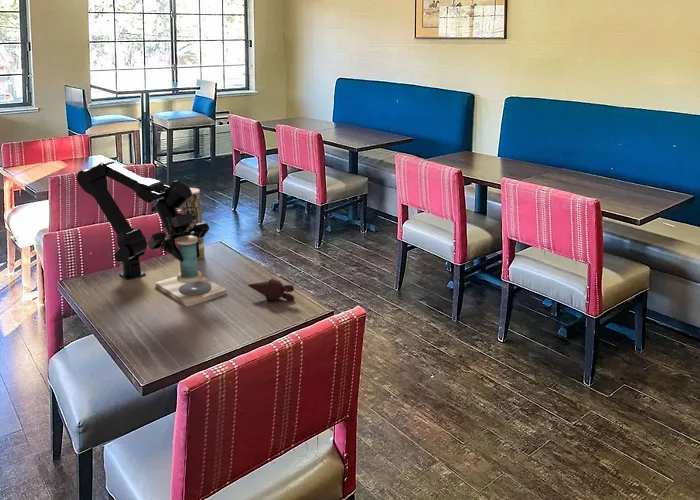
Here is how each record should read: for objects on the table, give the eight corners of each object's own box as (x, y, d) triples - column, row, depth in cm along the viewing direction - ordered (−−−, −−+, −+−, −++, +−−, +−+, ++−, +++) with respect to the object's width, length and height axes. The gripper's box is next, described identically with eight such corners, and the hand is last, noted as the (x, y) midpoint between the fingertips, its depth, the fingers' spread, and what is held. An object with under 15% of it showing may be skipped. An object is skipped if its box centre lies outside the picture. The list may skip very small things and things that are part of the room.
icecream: (243, 283, 197) (290, 292, 194) (252, 269, 202) (297, 277, 200) (244, 300, 201) (290, 310, 198) (253, 286, 207) (298, 295, 204)
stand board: (155, 286, 209) (154, 281, 208) (193, 275, 218) (193, 270, 217) (187, 306, 196) (187, 301, 195) (226, 293, 205) (226, 288, 204)
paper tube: (200, 261, 230) (194, 193, 221) (182, 260, 231) (176, 192, 222) (207, 254, 236) (202, 188, 227) (190, 253, 237) (184, 187, 228)
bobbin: (172, 277, 202) (169, 238, 197) (194, 271, 206) (191, 233, 202) (184, 285, 196) (181, 245, 192) (206, 278, 201) (204, 239, 196)
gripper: (148, 208, 190) (170, 254, 186) (204, 197, 202) (225, 239, 198) (139, 227, 198) (159, 271, 194) (193, 215, 210) (213, 256, 206)
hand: (190, 259), depth 198 cm, fingers closed on bobbin, 5 cm apart
